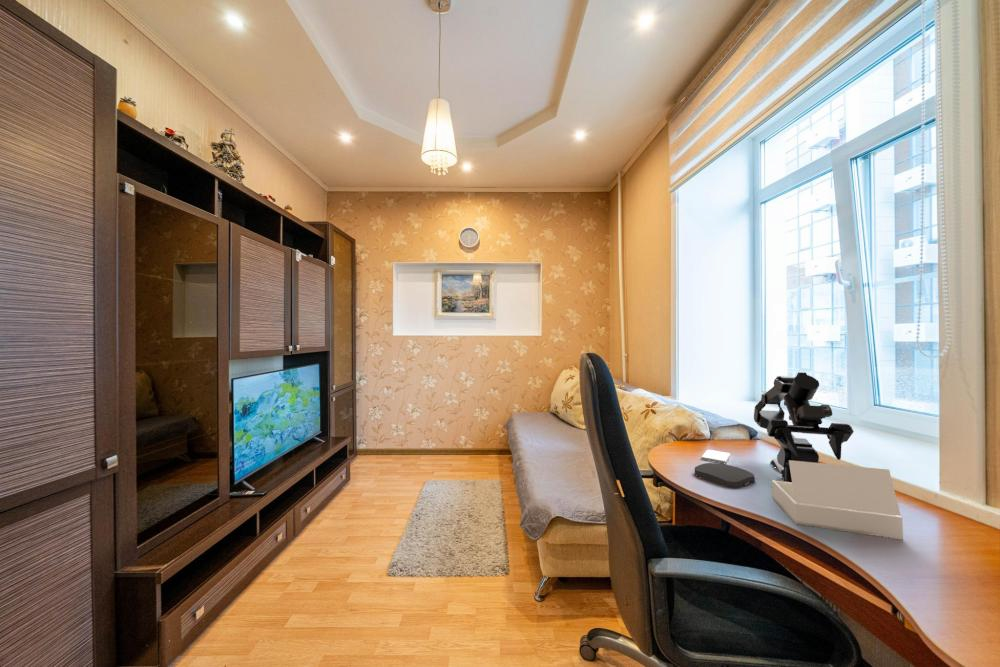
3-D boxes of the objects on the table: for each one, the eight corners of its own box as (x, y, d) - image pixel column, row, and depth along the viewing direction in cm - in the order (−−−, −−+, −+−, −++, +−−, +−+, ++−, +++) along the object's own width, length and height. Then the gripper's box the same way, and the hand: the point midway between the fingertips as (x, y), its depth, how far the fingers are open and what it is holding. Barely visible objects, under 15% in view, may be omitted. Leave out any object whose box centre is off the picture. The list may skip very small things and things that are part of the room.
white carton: (772, 497, 103) (771, 480, 103) (861, 508, 96) (860, 490, 96) (795, 524, 88) (795, 503, 88) (903, 539, 81) (902, 517, 81)
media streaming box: (689, 475, 121) (689, 466, 121) (715, 468, 128) (715, 459, 128) (734, 491, 108) (733, 481, 108) (760, 482, 115) (759, 472, 115)
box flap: (795, 502, 88) (788, 460, 92) (899, 515, 81) (888, 469, 85) (795, 502, 88) (789, 460, 91) (900, 515, 81) (889, 469, 84)
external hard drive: (701, 460, 136) (707, 452, 146) (726, 465, 131) (730, 456, 140) (701, 456, 136) (706, 448, 146) (726, 461, 131) (730, 452, 140)
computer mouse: (791, 465, 130) (790, 454, 131) (820, 484, 113) (819, 472, 113) (759, 462, 133) (759, 452, 133) (783, 481, 116) (783, 469, 116)
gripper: (769, 392, 106) (784, 438, 95) (848, 395, 99) (875, 445, 89) (761, 413, 113) (774, 458, 103) (834, 417, 106) (857, 466, 96)
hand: (818, 457), depth 97 cm, fingers open, 9 cm apart
